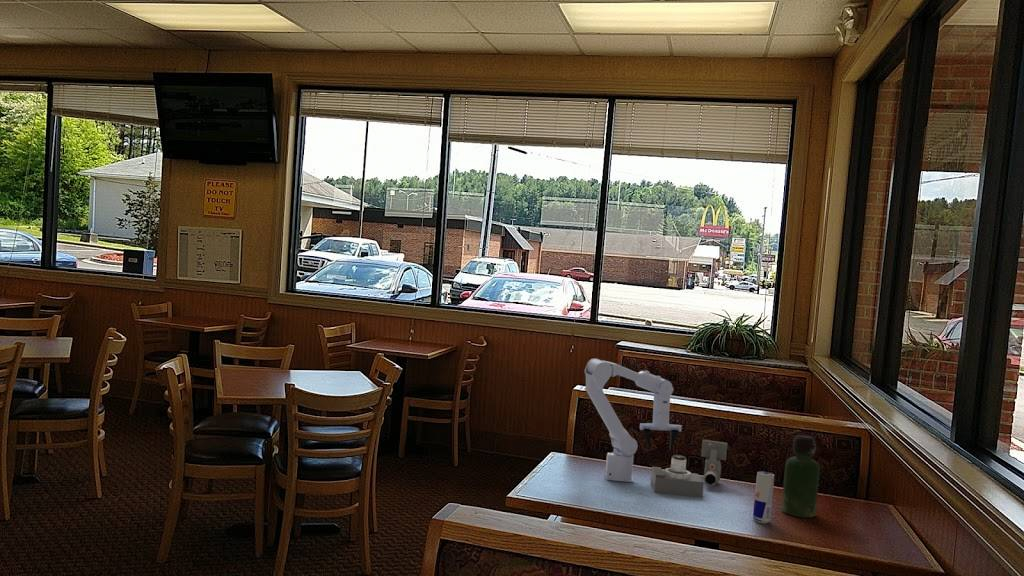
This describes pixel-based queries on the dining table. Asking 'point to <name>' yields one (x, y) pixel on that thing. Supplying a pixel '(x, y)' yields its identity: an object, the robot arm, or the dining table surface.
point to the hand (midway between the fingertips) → (659, 450)
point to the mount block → (676, 482)
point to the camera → (713, 460)
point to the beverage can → (763, 497)
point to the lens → (678, 464)
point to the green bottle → (801, 479)
